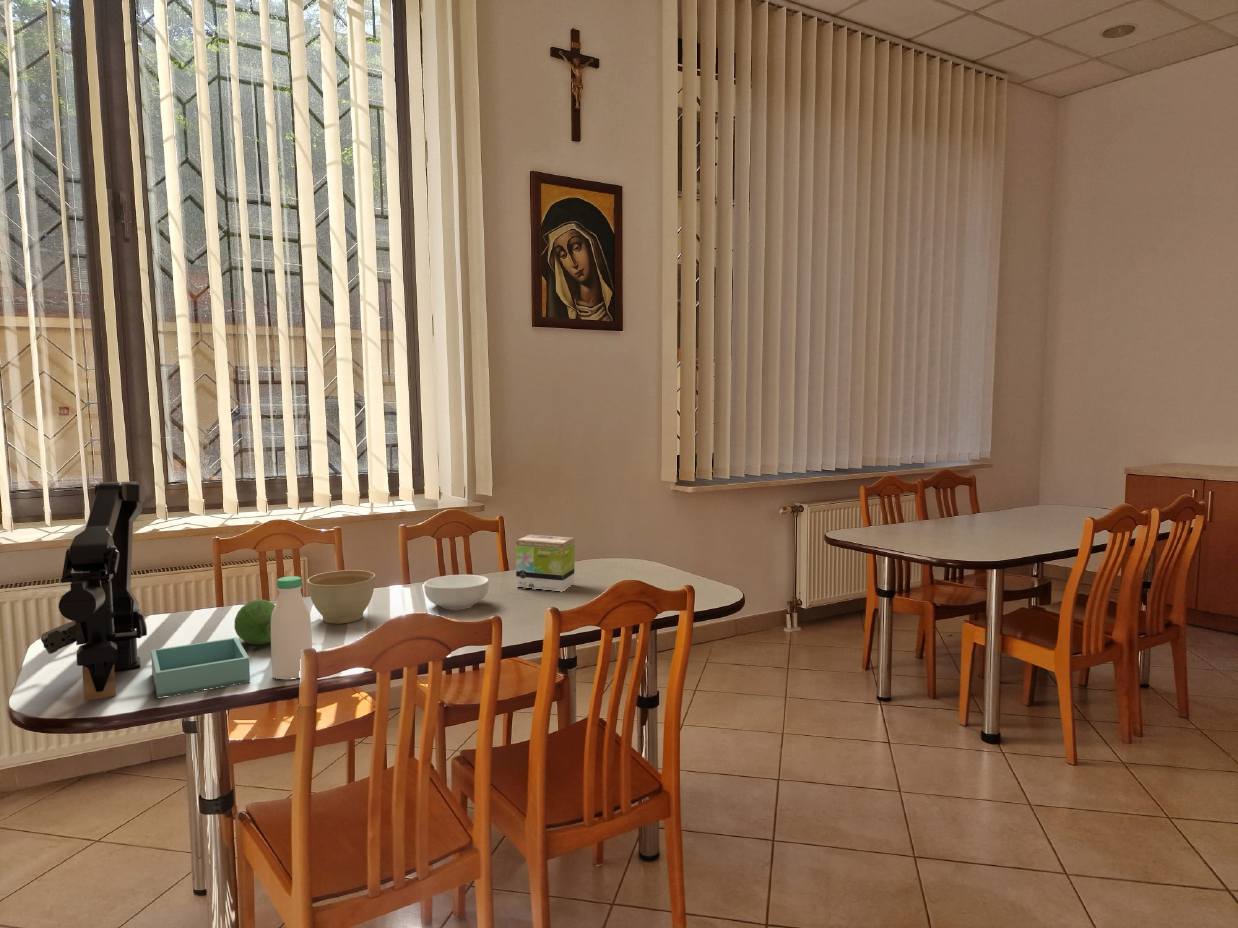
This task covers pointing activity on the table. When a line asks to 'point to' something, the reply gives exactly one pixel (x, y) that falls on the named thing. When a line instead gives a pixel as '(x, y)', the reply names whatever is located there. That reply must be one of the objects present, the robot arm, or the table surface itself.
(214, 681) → the teal bin
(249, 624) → the fruit
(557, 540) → the tea box
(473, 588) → the cereal bowl
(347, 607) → the planter bowl
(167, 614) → the table surface
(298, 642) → the milk bottle
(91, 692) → the walnut block
